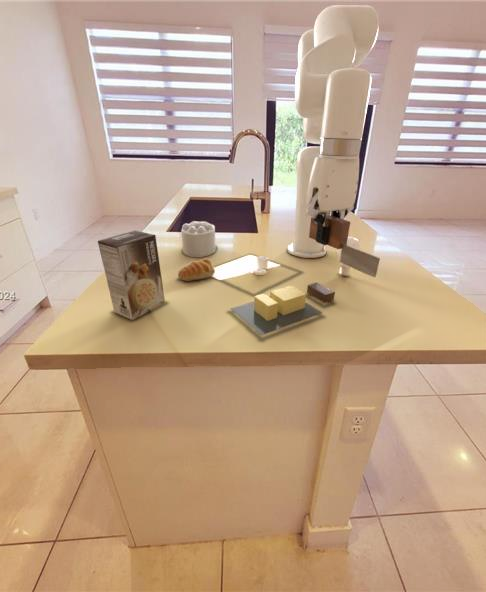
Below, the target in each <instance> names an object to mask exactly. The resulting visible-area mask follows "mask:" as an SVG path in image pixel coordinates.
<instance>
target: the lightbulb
mask: <svg viewBox="0 0 486 592" xmlns="http://www.w3.org/2000/svg"><path fill="white" fill-rule="evenodd" d="M347 245H348V246H350V247H353V248H355V249H358V250H361V251H362V246H361V242H360V241H359V240H358V239H357V238H355V237H354V236H348V239H347ZM341 251H342V249H336V248H335V252H336V255H337V257H338V259H339V260H340V257H341ZM350 271H351V267H350V266H347V265H345V264H343V263H341V262H340V261H339V273H338V274H340V276H342V277H345V276H349V275H350Z"/></svg>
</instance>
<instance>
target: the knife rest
mask: <svg viewBox="0 0 486 592" xmlns="http://www.w3.org/2000/svg"><path fill="white" fill-rule="evenodd" d="M306 294H308V295H310V296H311V297H313V298H315V299H317V300H319V301H320V302H322V303H324V304H326V303H329V302H332V301H334V300H335V295H336V291H334V290H333V289H331V288H329V287H327V286H325V285H323V284H321V283H320V282H314V283H310V284H307V288H306Z"/></svg>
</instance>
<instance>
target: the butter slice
mask: <svg viewBox="0 0 486 592" xmlns="http://www.w3.org/2000/svg"><path fill="white" fill-rule="evenodd" d="M253 298H254V299H253V300H254V311H256V312H257V313H258V314H259V315H261V316H262V317H263V318H264V319H266V320H267V321H269V320H272V319H274V318H277V312H278V303H277V302H276V301H274V300H273V299H271V298H270V295H267V294H266V293H261V294H257V295H254V296H253Z"/></svg>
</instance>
